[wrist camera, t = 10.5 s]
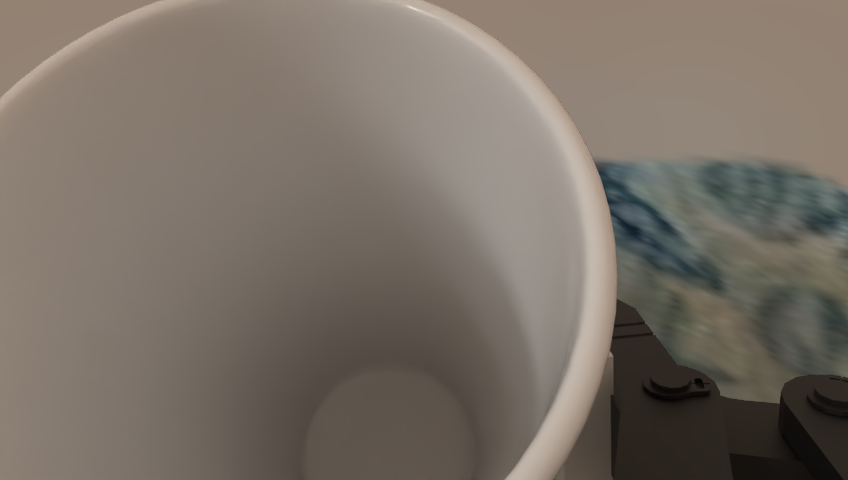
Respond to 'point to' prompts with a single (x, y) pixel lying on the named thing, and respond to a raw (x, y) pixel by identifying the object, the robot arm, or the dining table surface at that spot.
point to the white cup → (296, 251)
